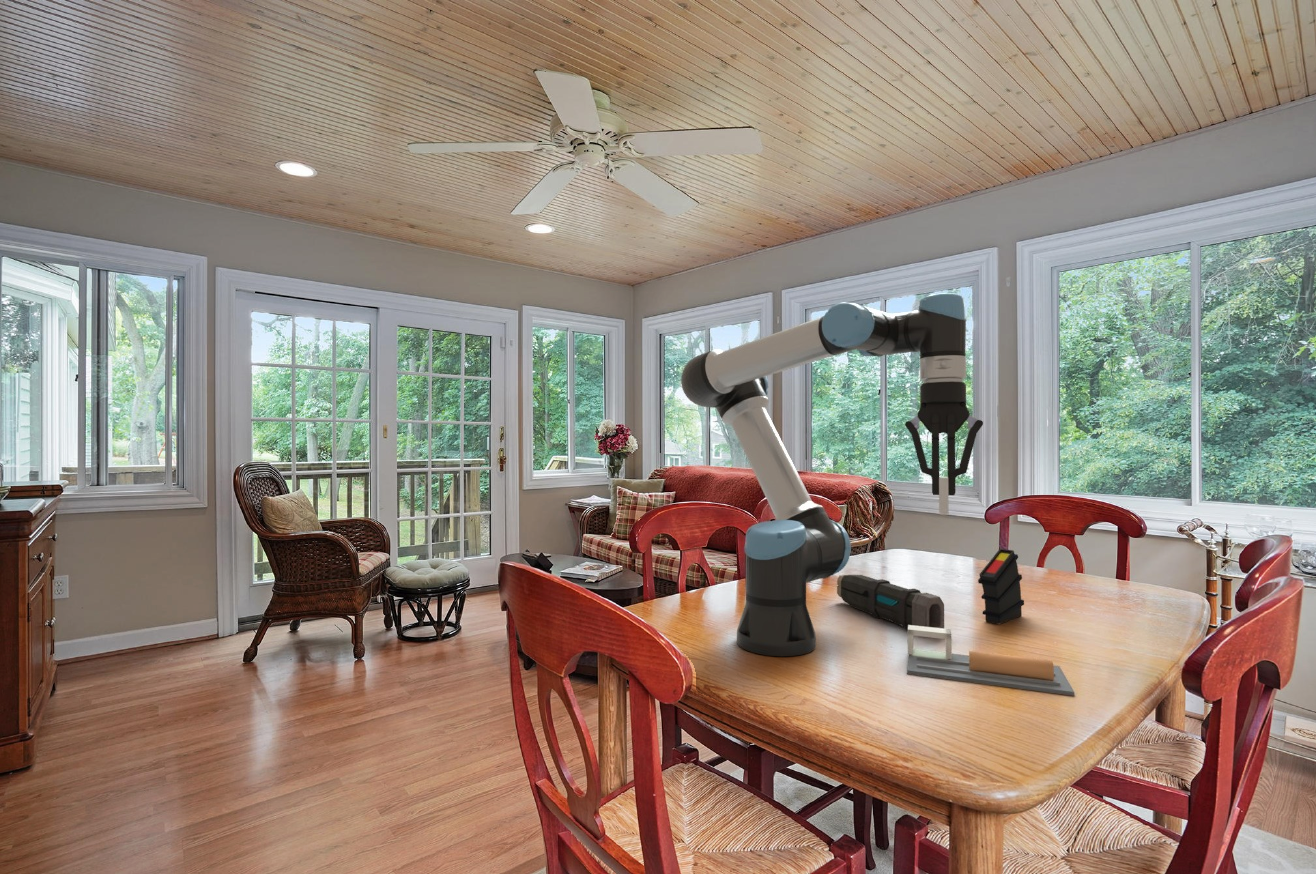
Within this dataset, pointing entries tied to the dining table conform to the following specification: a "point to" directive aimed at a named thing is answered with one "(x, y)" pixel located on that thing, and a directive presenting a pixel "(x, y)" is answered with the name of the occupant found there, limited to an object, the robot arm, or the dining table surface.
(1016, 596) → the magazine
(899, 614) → the tube
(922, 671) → the guide mat
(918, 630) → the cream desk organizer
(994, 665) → the tan cylindrical rod
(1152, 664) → the dining table surface
